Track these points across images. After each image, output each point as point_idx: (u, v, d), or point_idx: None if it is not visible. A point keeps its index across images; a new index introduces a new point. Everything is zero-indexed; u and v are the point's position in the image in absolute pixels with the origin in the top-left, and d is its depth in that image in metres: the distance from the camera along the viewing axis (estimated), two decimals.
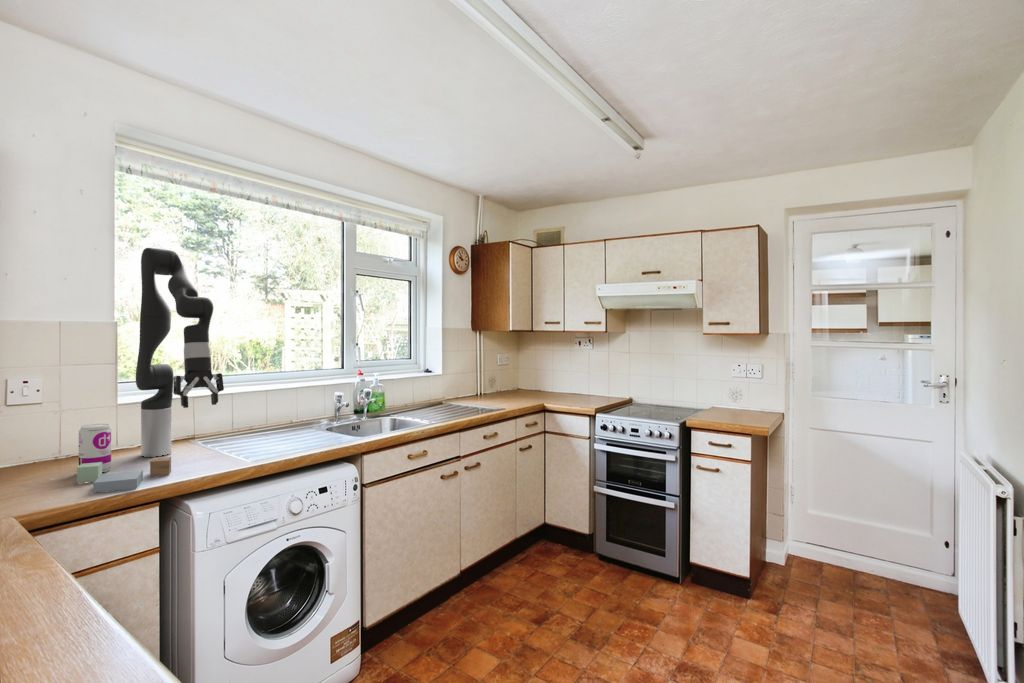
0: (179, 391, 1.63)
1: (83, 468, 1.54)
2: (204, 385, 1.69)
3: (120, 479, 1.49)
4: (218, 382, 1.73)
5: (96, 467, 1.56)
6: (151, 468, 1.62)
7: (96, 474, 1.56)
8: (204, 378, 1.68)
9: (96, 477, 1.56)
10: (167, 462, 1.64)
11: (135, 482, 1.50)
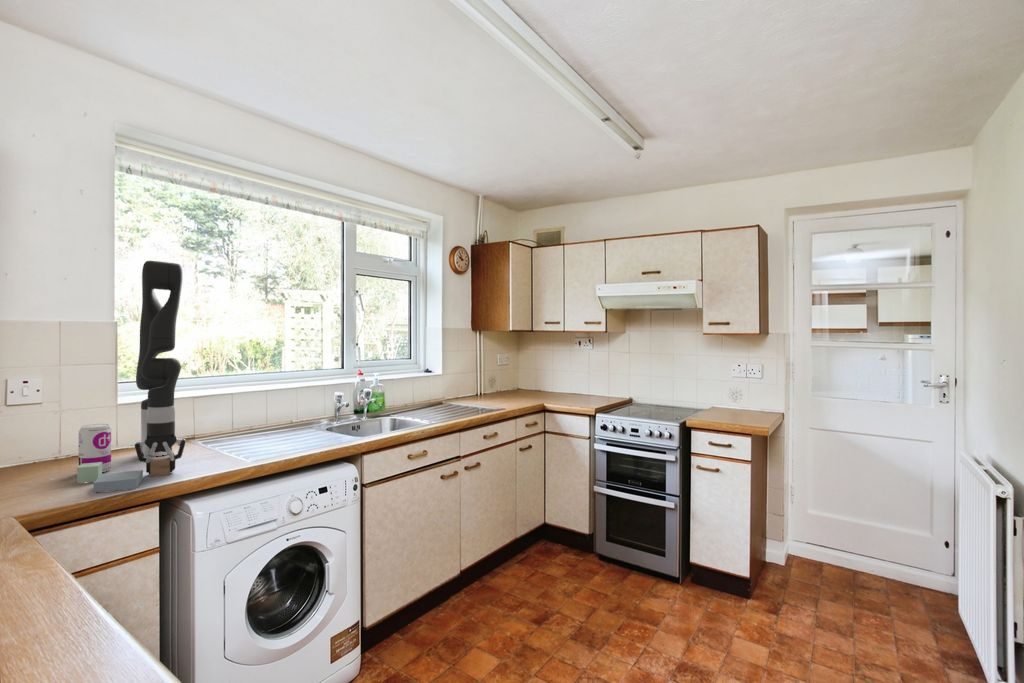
0: (142, 458, 1.62)
1: (83, 468, 1.54)
2: (162, 449, 1.64)
3: (120, 479, 1.49)
4: (179, 448, 1.67)
5: (96, 467, 1.56)
6: (151, 468, 1.62)
7: (96, 474, 1.56)
8: (163, 443, 1.64)
9: (96, 477, 1.56)
10: (167, 462, 1.64)
11: (135, 482, 1.50)
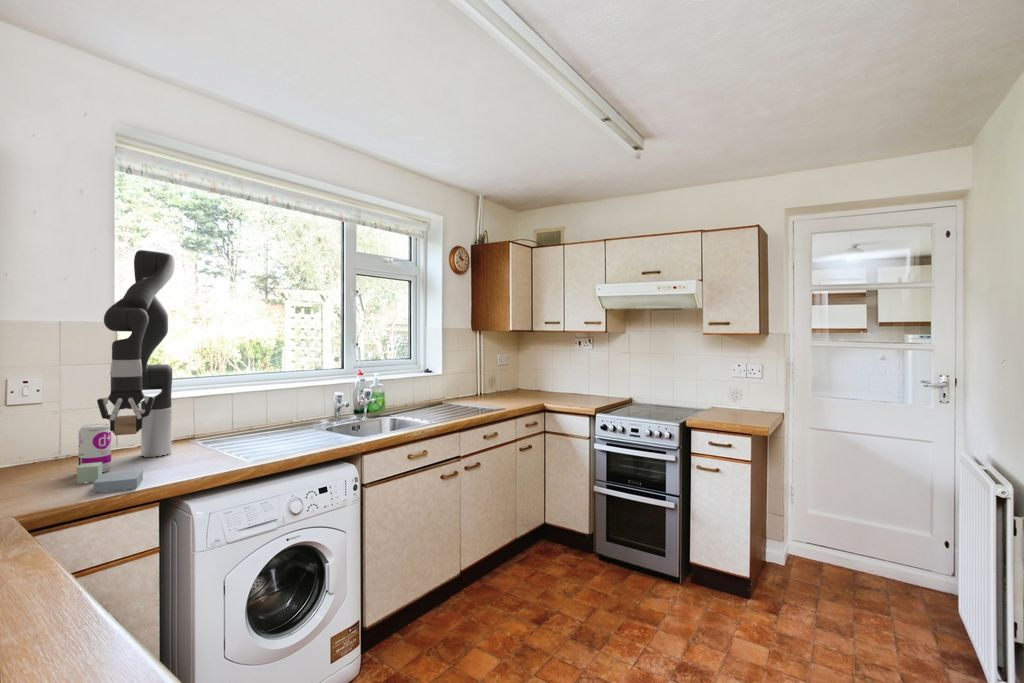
0: (105, 415, 1.50)
1: (83, 468, 1.54)
2: (128, 406, 1.52)
3: (120, 479, 1.49)
4: (146, 406, 1.55)
5: (96, 467, 1.56)
6: (116, 425, 1.50)
7: (96, 474, 1.56)
8: (129, 399, 1.52)
9: (96, 477, 1.56)
10: (133, 420, 1.52)
11: (135, 482, 1.50)
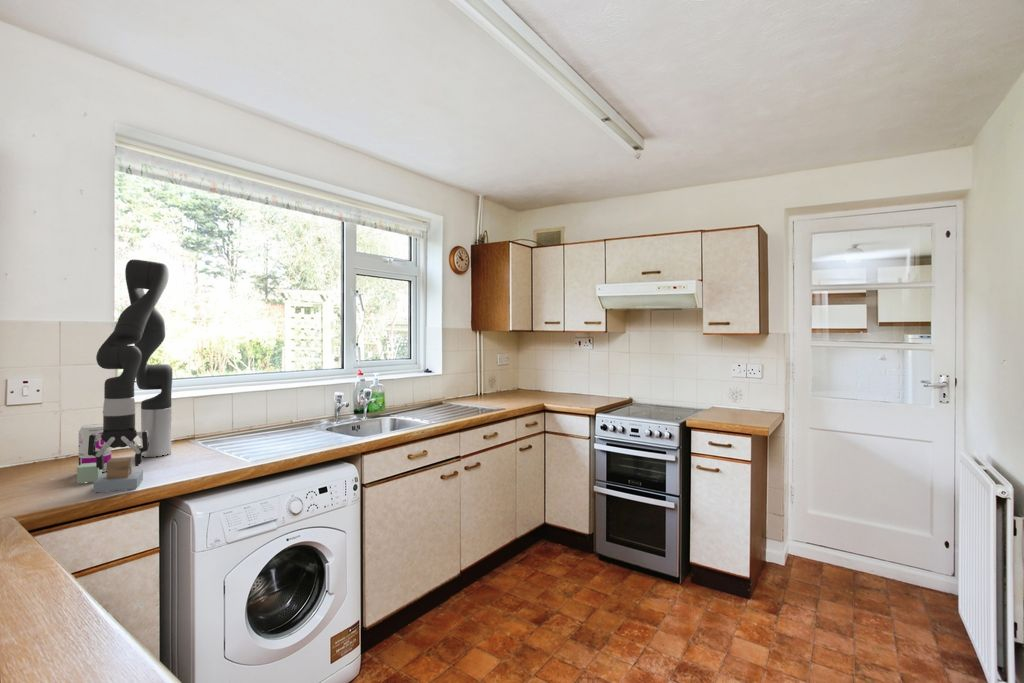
0: (91, 452, 1.48)
1: (83, 468, 1.54)
2: (123, 445, 1.52)
3: (120, 479, 1.49)
4: (142, 441, 1.54)
5: (96, 467, 1.56)
6: (108, 469, 1.49)
7: (96, 474, 1.56)
8: (122, 438, 1.51)
9: (96, 477, 1.56)
10: (125, 463, 1.51)
11: (135, 482, 1.50)
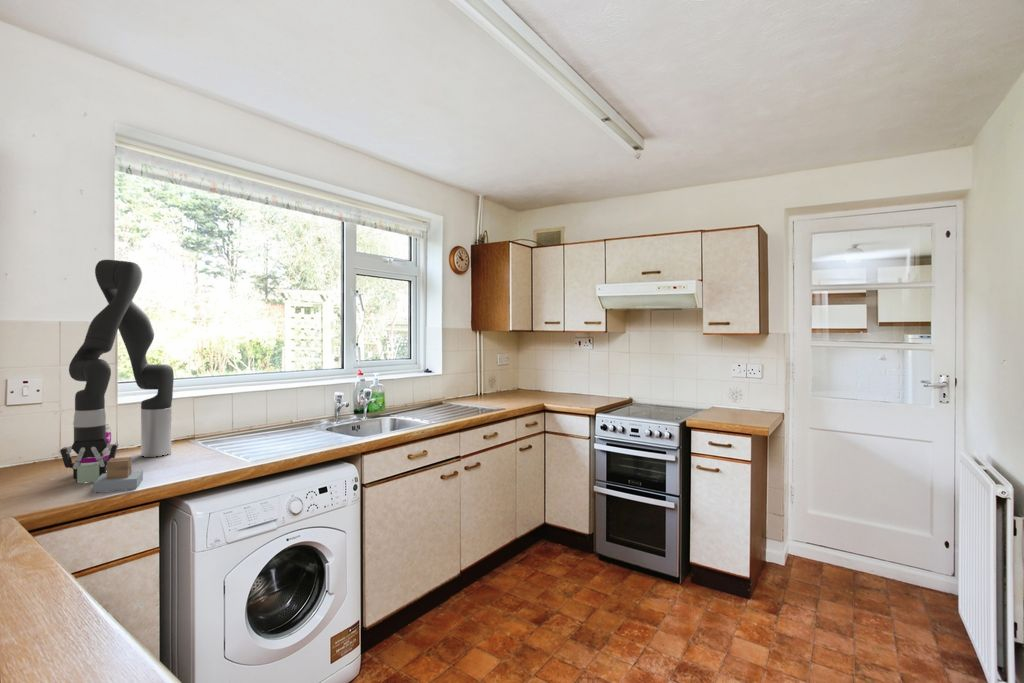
0: (68, 464, 1.53)
1: (83, 468, 1.54)
2: (91, 455, 1.56)
3: (120, 479, 1.49)
4: (110, 454, 1.59)
5: (96, 467, 1.56)
6: (108, 469, 1.49)
7: (96, 474, 1.56)
8: (92, 448, 1.55)
9: (96, 477, 1.56)
10: (125, 463, 1.51)
11: (135, 482, 1.50)
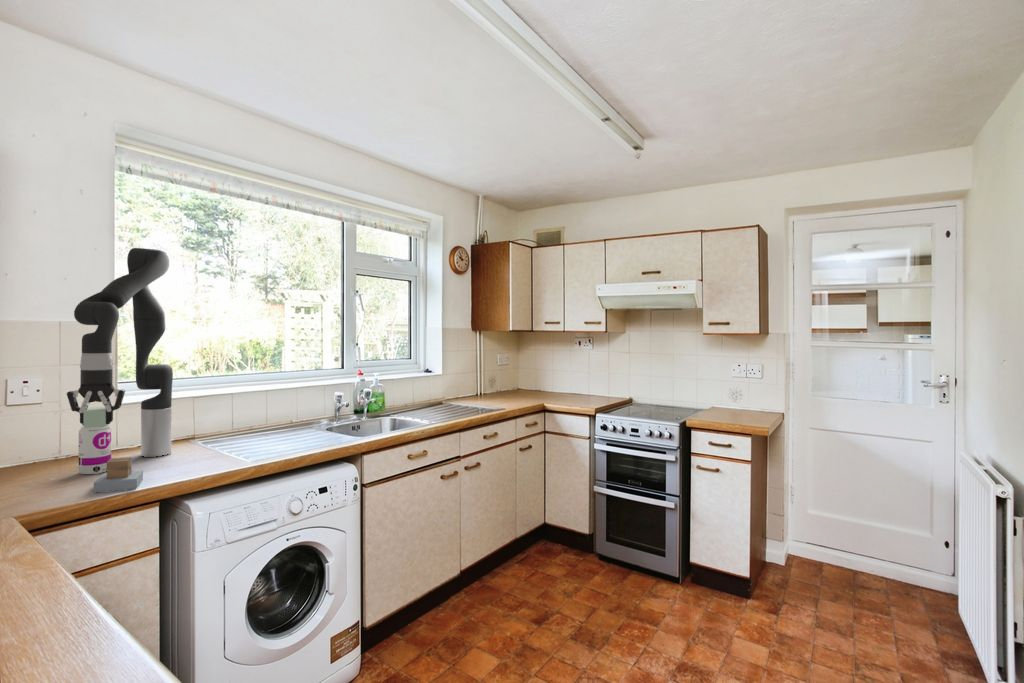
0: (74, 407, 1.52)
1: (89, 411, 1.52)
2: (97, 399, 1.54)
3: (120, 479, 1.49)
4: (116, 399, 1.56)
5: (103, 411, 1.53)
6: (108, 469, 1.49)
7: (102, 418, 1.53)
8: (99, 392, 1.53)
9: (102, 421, 1.53)
10: (125, 463, 1.51)
11: (135, 482, 1.50)
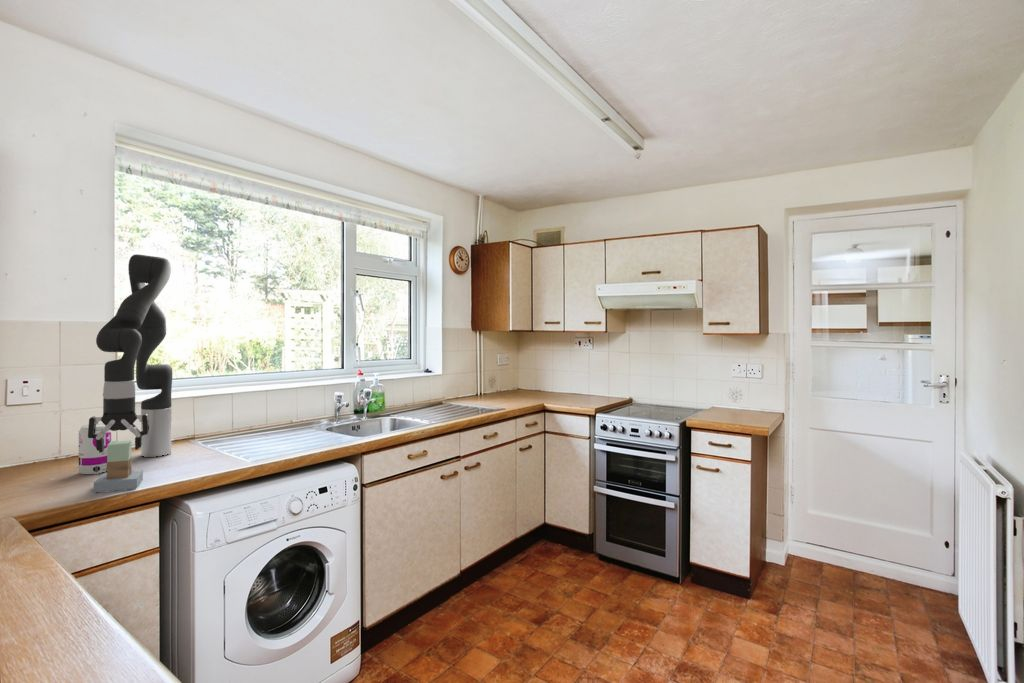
0: (91, 434, 1.48)
1: (113, 445, 1.49)
2: (123, 428, 1.51)
3: (120, 479, 1.49)
4: (143, 424, 1.54)
5: (127, 445, 1.51)
6: (108, 469, 1.49)
7: (126, 452, 1.51)
8: (122, 421, 1.51)
9: (127, 455, 1.51)
10: (125, 463, 1.51)
11: (135, 482, 1.50)
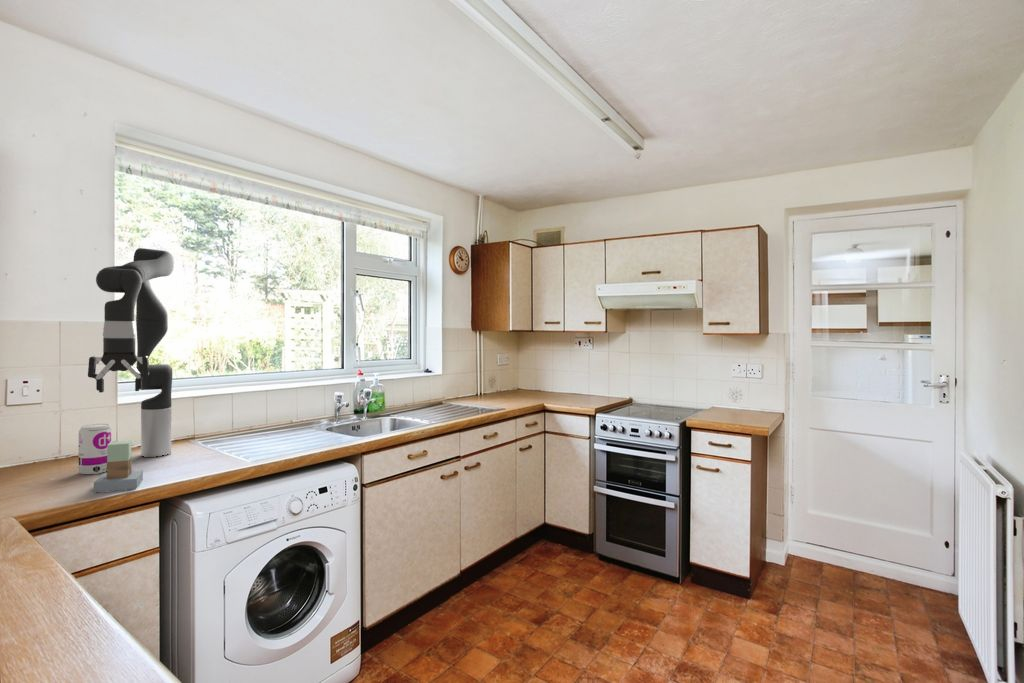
0: (91, 374, 1.47)
1: (113, 445, 1.49)
2: (123, 369, 1.51)
3: (120, 479, 1.49)
4: (143, 366, 1.54)
5: (127, 445, 1.51)
6: (108, 469, 1.49)
7: (126, 452, 1.51)
8: (122, 361, 1.50)
9: (127, 455, 1.51)
10: (125, 463, 1.51)
11: (135, 482, 1.50)
